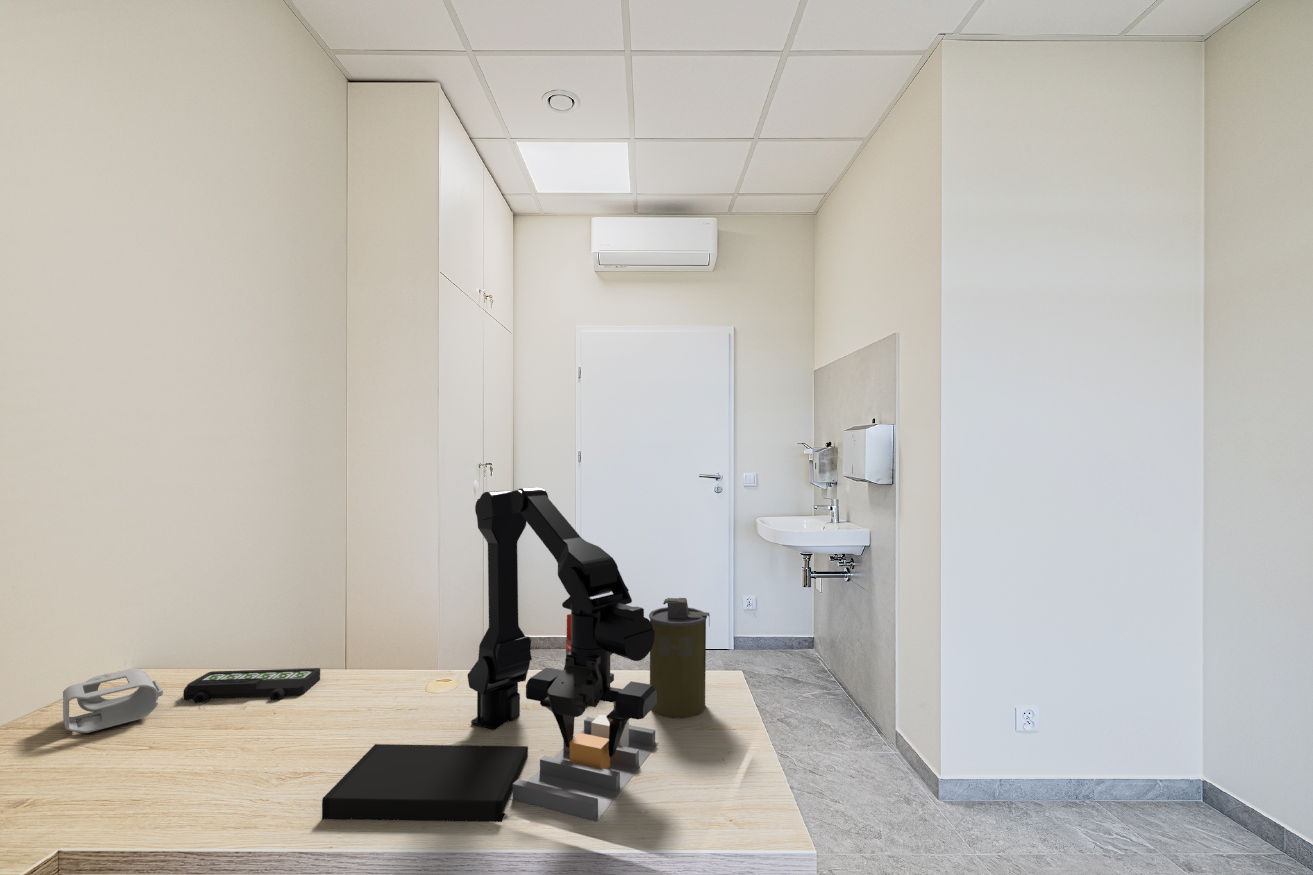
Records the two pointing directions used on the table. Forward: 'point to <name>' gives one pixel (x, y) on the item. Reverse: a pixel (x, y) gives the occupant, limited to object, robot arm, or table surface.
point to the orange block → (590, 751)
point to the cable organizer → (111, 701)
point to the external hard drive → (427, 784)
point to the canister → (678, 659)
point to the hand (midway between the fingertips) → (590, 750)
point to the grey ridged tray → (585, 778)
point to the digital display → (251, 684)
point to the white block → (602, 730)
